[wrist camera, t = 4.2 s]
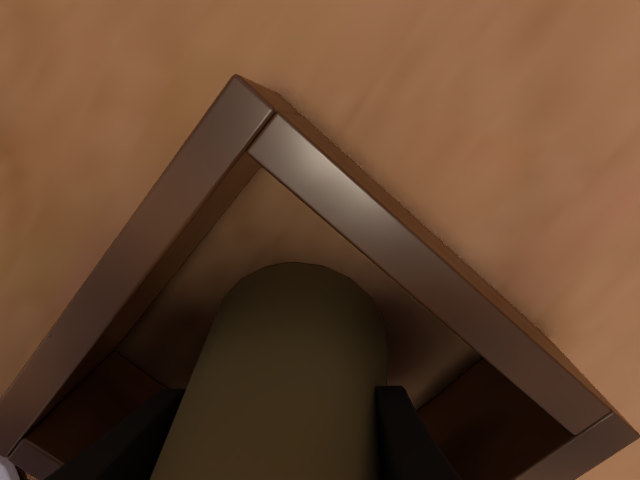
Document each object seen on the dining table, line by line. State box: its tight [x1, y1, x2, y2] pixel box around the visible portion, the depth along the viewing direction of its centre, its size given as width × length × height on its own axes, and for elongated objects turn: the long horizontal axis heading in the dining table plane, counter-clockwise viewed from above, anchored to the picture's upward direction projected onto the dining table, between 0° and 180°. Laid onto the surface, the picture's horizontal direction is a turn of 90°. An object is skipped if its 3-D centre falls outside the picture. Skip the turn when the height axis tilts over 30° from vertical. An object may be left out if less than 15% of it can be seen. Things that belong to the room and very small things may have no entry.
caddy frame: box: [0, 74, 640, 480], centre depth 11 cm, size 12×12×4 cm
